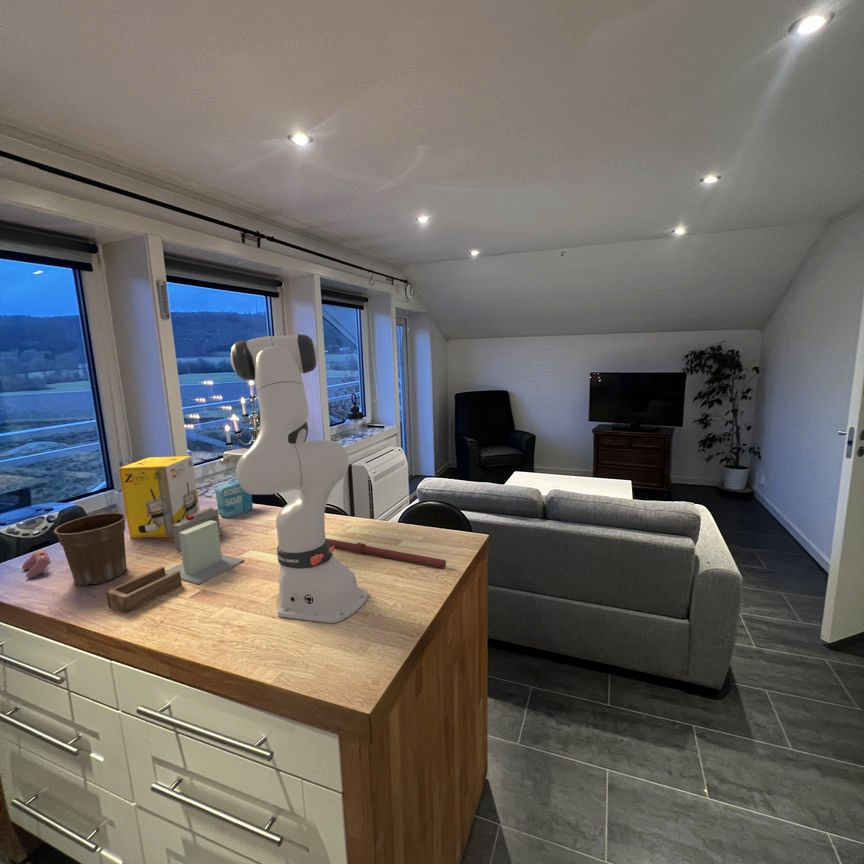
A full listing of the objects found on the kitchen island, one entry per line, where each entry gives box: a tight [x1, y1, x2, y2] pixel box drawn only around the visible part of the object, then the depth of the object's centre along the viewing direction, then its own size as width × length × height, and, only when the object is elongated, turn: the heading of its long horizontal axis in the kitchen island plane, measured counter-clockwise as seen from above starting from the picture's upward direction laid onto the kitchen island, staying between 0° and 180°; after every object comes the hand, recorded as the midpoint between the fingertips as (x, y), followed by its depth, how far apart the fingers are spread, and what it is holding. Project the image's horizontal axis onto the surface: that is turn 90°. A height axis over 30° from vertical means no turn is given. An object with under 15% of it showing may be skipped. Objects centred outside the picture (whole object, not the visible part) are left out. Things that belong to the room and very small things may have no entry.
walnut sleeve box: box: [105, 566, 183, 614], centre depth 116 cm, size 8×14×4 cm, turn 154°
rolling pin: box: [326, 538, 447, 569], centre depth 134 cm, size 45×3×3 cm, turn 64°
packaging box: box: [118, 455, 201, 539], centre depth 161 cm, size 16×16×25 cm
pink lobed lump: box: [21, 549, 52, 579], centre depth 133 cm, size 10×5×7 cm, turn 48°
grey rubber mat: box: [165, 554, 245, 585], centre depth 131 cm, size 16×15×1 cm
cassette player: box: [172, 506, 222, 553], centre depth 149 cm, size 16×3×10 cm, turn 160°
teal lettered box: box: [215, 480, 253, 519], centre depth 176 cm, size 12×4×12 cm, turn 144°
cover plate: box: [179, 520, 223, 575], centre depth 130 cm, size 3×10×12 cm, turn 154°
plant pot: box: [53, 512, 128, 587], centre depth 127 cm, size 16×16×16 cm
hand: (231, 463), depth 138 cm, fingers open, 8 cm apart
